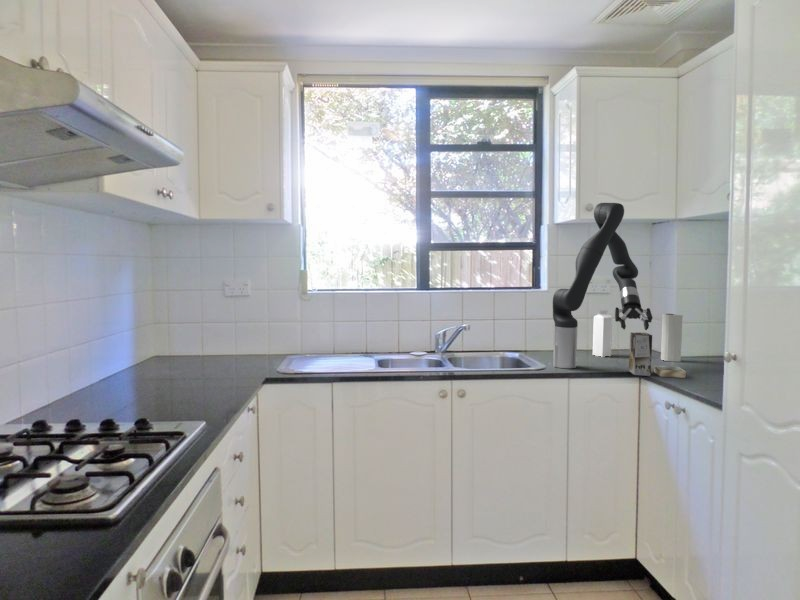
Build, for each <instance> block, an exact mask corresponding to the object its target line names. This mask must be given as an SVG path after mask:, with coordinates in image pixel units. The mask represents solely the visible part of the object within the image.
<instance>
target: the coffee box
mask: <svg viewBox="0 0 800 600" xmlns="http://www.w3.org/2000/svg"><path fill="white" fill-rule="evenodd" d="M652 349H653V335H652V334H650V333H647V332H629V357H628V358H629V359H628V360H629V361H628V371H629V372H630V373H631V374H632V375H634V376H645V377H646V376H647V377H650V376H651V374H652V373H651V371H652V351H653V350H652Z"/></svg>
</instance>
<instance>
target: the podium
mask: <svg viewBox="0 0 800 600" xmlns="http://www.w3.org/2000/svg"><path fill="white" fill-rule="evenodd" d="M653 372H654V373H655V374H656V375H658V376H659V377H662V378H663V377H664V378H682V379H683V378H684V379H685V378H686V375H687V371H686V370H685V369H683V368H681V367H679V366H672V365H654V367H653Z"/></svg>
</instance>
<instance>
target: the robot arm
mask: <svg viewBox="0 0 800 600" xmlns="http://www.w3.org/2000/svg"><path fill="white" fill-rule="evenodd" d="M624 215H625V207H624V205H623V204H622V203H619V202H600V203H598V204H597V205H596V206H595V207H594V210H593V218H594V221H595V223H596V224H597V227H598V228H599V230H598V231H597V232H596V233H595V234H594V235H592V236H591V237H590V238H588V240H586V242H584V243H583V245H582V246H581V248H580V250H579V252H578V253H577V256H576V259H575V276H574V280H573V281H572V284H571V285H570V287H569V288H559V289H557V290H555V292H554V294H553V298H552V319H553V321H554V337H553V338H554V341H553V359H552V360H553V363H552V365H553V367H554V368H559V369H575V368H577V364H578V363H577V356H578V353H577V352H578V328H579V327H578V326H579V325H578V324H579V323H578V320H577V319H576V317H574V316H573V314H572V312H575V311H577V310H579V309H580V308H581V306H582V304H583V303H584V299H585V297H586V294H587V291H588V288H589V285H590V283H591V281H592V278H593V276H594V273H595V272H596V269H597V267H598V266H599V263H600V262H601V260H602V257H603V255H604V253H605V251H606V249H607V247H608V250H609V252H610V255H611V259H612V261H613V264H615V265H618V266H616V267H614V268H613V270H612V276H613V278H614V280H615V282H616V283H617V285H618V287H619V295H620V296H619V298H620V304H621V308H619V307H615V310H614V318H615V320H614V321H615V323H616V322H617V323H618V322H619V323H620V328H621V329H622V330H626V327H627V325H626V321H627V319H629V320H630V319H634V320H639V321H640V322H642V323H643V329H644V331H647V330H648V329H649V327H650V324H649V323H652V320H653V315H652V311H651V309H650V308H649V307H648V308H646V309H643V308H642V304H641V299H640V294H639V291H638V288H637V283H636V281H635V279H636V278H637V277H638V275H639V269H638V267H637V266H636V264H635V263H634V262H633V260H632V258H631V256H630V254H629V251H628V248H627V244H626V243H625V241H624V240H623V238H622V237H621V235H619V234H618V233H617V232H616V230H617V229H618V227H619V226H620V224H621V223H622V221H623V218H624ZM621 313H622V316H620V314H621Z"/></svg>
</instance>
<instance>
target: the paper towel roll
mask: <svg viewBox="0 0 800 600" xmlns="http://www.w3.org/2000/svg"><path fill="white" fill-rule="evenodd" d="M661 318H662V322H661V324H662V325H661V339H660V340H661V342H660V343H661V345H660V346H661V347H660V360H661V361H663V360H664V361H665V362H678V363H679V362H680V363H681V362H682V361H681V359H682V357H681V356H682V336H683V335H682V334H683V333H682V332H683V315H682V314H675V313H662V317H661Z"/></svg>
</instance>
